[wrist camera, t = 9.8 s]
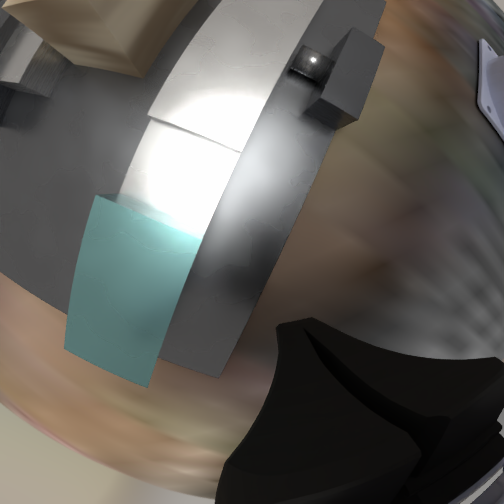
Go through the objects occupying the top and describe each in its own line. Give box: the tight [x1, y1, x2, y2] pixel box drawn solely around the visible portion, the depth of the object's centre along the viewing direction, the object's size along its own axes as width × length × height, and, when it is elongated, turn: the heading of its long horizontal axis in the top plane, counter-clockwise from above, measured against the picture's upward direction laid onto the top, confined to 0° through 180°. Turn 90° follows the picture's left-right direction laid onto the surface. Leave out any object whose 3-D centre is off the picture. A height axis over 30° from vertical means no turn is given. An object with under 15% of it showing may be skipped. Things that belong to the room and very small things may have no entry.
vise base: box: [0, 0, 386, 378], centre depth 7 cm, size 19×22×4 cm
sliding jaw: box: [64, 0, 323, 388], centre depth 7 cm, size 3×18×4 cm, turn 155°
